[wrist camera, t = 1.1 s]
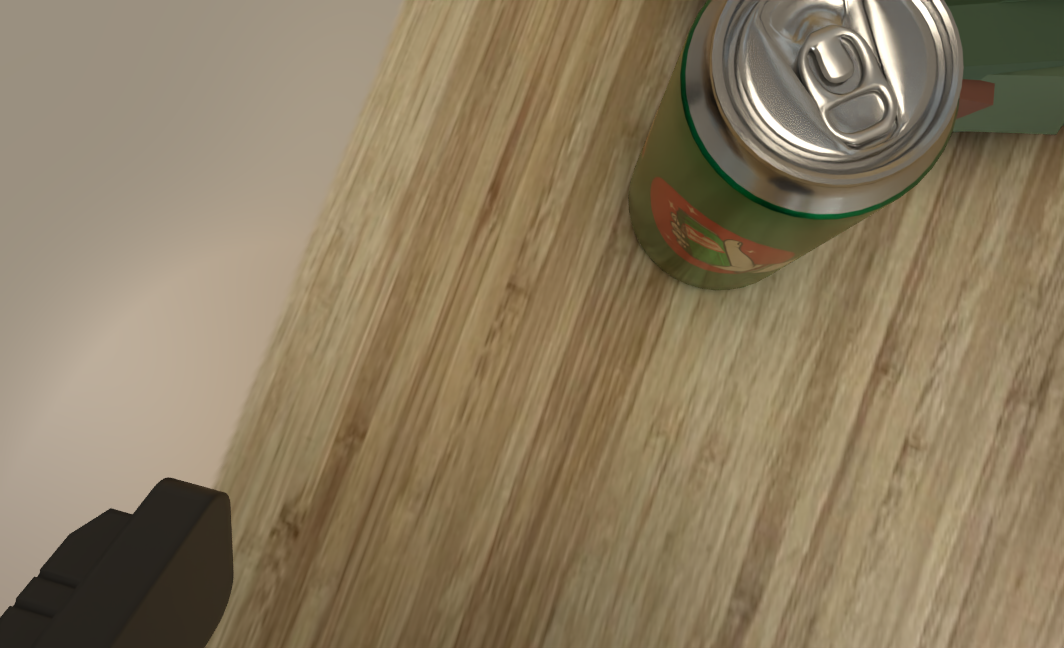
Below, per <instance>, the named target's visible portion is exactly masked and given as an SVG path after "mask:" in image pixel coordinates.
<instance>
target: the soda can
mask: <svg viewBox="0 0 1064 648" xmlns="http://www.w3.org/2000/svg"><path fill="white" fill-rule="evenodd" d="M963 69H964V66H963V50H962V45H961V40H960V36H959V31H958V28H957V26H956V23H955V21H954V18H953V16H952V13H951V11H950V10H949V8H948V6H947V4H946V3H945V1H944V0H707V2H706V3H705V4H704V6H703V7H702V9H701V10H700V12H699V13H698V15H697V17H696V19H695V21H694V23H693V25H692V27H691V29H690V31H689V33H688V36H687V38H686V41H685V43H684V46H683V48H682V51H681V53H680V56H679V58H678V61H677V63H676V66H675V68H674V71H673V73H672V76H671V78H670V81H669V83H668V86H667V88H666V91H665V93H664V96H663V98H662V101H661V103H660V106H659V108H658V111H657V113H656V116H655V118H654V121H653V123H652V126H651V128H650V131H649V133H648V136H647V138H646V141H645V143H644V146H643V148H642V151H641V153H640V156H639V158H638V161H637V163H636V166H635V168H634V172H633V175H632V178H631V182H630V189H629V212H630V218H631V223H632V226H633V229H634V231H635V234H636V237H637V239H638V241H639V242H640V244H641V246H642V248H643V249H644V251H645V252H646V253H647V255H648V256H649V257H650V258H651V260H652V261H653V262H654V263H655V264H656V265H657V266H659V267H660V268H661V269H662V270H663V271H664V272H666V273H667V274H669V275H670V276H672V277H673V278H675V279H677V280H679V281H681V282H683V283H686V284H688V285H691V286H695V287H698V288H702V289H710V290H731V289H737V288H742V287H745V286H748V285H751V284H754V283H757V282H759V281H760V280H762V279H764V278H766V277H768V276H770V275H771V274H773V273H775V272H776V271H778V270H780V269H781V268H783V267H785V266H786V265H788V264H790V263H791V262H793V261H795V260H796V259H798V258H800V257H801V256H803V255H805V254H806V253H808V252H810V251H812V250H813V249H815V248H817V247H818V246H820V245H822V244H823V243H825V242H827V241H828V240H830V239H832V238H833V237H835V236H837V235H838V234H840V233H842V232H843V231H845V230H847V229H848V228H850V227H852V226H853V225H855V224H857V223H858V222H860V221H862V220H863V219H865V218H867V217H868V216H870V215H872V214H874V213H875V212H877V211H879V210H880V209H882V208H884V207H885V206H887V205H889V204H890V203H892V202H894V201H895V200H897V199H899V198H900V197H901V196H903V195H904V194H905V193H907V192H908V191H909V190H911V189H912V188H913V187H914V186H916V185H917V184H918V183H919V182H920V181H921V180H922V179H923V178H924V176H925V175H926V174H927V173H928V172H929V171H930V170H931V169H932V168H933V166H934V165H935V163H936V162H937V160H938V159H939V157H940V156H941V154H942V153H943V151H944V149H945V147H946V145H947V143H948V140H949V138H950V136H951V134H952V132H953V128H954V124H955V121H956V117H957V113H958V108H959V98H960V92H961V88H962V79H963Z"/></svg>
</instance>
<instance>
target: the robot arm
mask: <svg viewBox="0 0 1064 648" xmlns="http://www.w3.org/2000/svg"><path fill="white" fill-rule="evenodd" d="M232 584H233V550H232V529H231V507H230V499H229V496H228V495H227V494H226V493H225V492H221V491H217V490H214V489H210V488H206V487H202V486H199V485H195V484H192V483H188V482H184V481H181V480H177V479H174V478H165V479H163V480H161V481H160V482H159V483H158V484H156V486H155V487H154V488H153V489H152V490H151V492H150V493H149V494H148V496H147V497H146V498H145V499H144V501H143V502H142V503H141V505H140V506H139V507H138V508H137V510H136V511H135V512H134V514H128V513H126V512H122V511H118V510H115V509H109V510H107V511H106V512H104V513H102V514H101V515H99V516H98V517H96V518H95V519H93V520H92V521H90V522H88V523H87V524H85V525H84V526H82V527H80V528H79V529H77V530H76V531H74V532H72V533H71V534H69V535H68V537H67V538H66V539H65V540H64V541H63V543H62V544H61V545H60V547H58V549H57V550H56V551H55V552H54V553H53V555H52V556H51V557H50V558H49V560H48V561H47V562H46V563H45V564H44V565H43V567H42V568H41V569H40V574H39V575H38V577H34V578H33V579H32V580H31V581H30V582H29V584H28V585H27V586H26V587H25V589H24V590H23V591H22V592H21V593H20V594H19V596H18V597H17V598H16V602H15V605H14V606H13V607H12V606H9V608H8V609H7V610H6V611H5V612H4V614H3V615H2V616H1V617H0V648H205V646H206V644H207V643H208V641H209V639H210V638H211V636H212V634H213V633H214V631H215V629H216V628H217V626H218V624H219V622H220V620H221V618H222V616H223V614H224V612H225V609H226V606H227V604H228V601H229V597H230V594H231V590H232Z"/></svg>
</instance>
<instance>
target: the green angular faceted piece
mask: <svg viewBox="0 0 1064 648" xmlns="http://www.w3.org/2000/svg"><path fill="white" fill-rule="evenodd" d="M944 1H945V3H946V4H947V6H948V8H949V10H950V11H951V13H952V16H953V18H954V21H955V23H956V26H957V28H958V31H959V36H960V40H961V45H962V50H963V66H964V69H963V79H962V88H961V92H960V98H959V108H958V113H957V117H956V121H955V124H954V128H953V132H963V131H974V132H1001V133H1027V134H1053V135H1056V134H1057V133H1058V131H1059V130H1060V128H1061V127H1062V126H1064V0H944Z"/></svg>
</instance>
